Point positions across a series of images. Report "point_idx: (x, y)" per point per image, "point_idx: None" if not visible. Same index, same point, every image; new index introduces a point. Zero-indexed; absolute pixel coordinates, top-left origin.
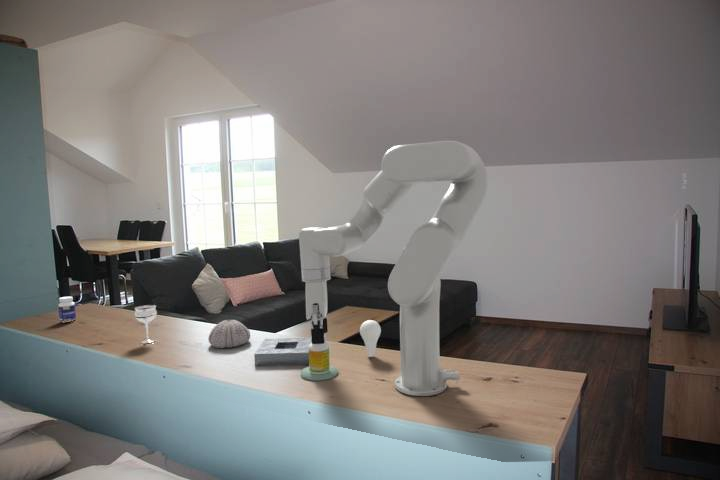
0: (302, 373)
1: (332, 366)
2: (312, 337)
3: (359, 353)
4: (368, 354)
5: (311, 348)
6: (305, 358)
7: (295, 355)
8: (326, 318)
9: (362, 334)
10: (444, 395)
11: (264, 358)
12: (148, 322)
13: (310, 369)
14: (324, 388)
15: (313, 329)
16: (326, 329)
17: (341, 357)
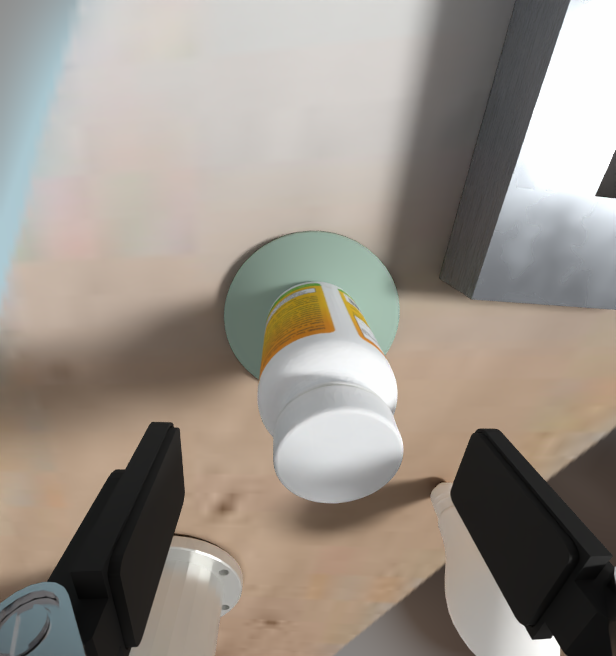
0: (299, 243)
1: None
2: (130, 472)
3: None
4: (438, 491)
5: (279, 361)
6: (463, 258)
7: (494, 200)
8: (538, 637)
9: (478, 571)
10: None
11: None
12: None
13: (291, 291)
14: (142, 343)
15: (84, 581)
16: (461, 517)
17: (480, 398)
